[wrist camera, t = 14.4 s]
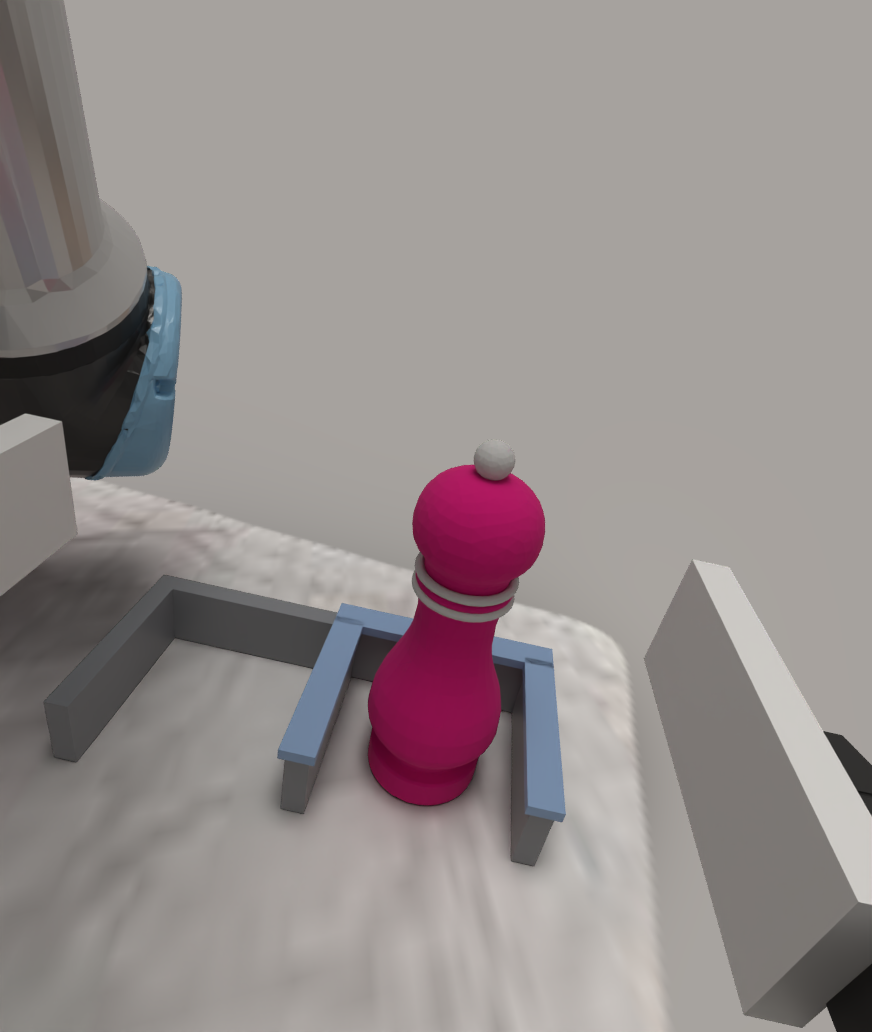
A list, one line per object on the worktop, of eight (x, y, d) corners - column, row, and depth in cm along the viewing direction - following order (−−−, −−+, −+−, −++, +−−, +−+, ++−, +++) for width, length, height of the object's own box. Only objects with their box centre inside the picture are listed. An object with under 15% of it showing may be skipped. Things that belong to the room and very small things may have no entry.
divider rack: (51, 760, 30) (38, 695, 28) (168, 619, 41) (166, 564, 39) (540, 871, 30) (565, 814, 28) (533, 700, 40) (552, 649, 38)
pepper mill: (355, 710, 37) (403, 402, 27) (467, 708, 38) (549, 418, 29) (363, 819, 31) (430, 471, 21) (496, 812, 32) (612, 487, 23)
